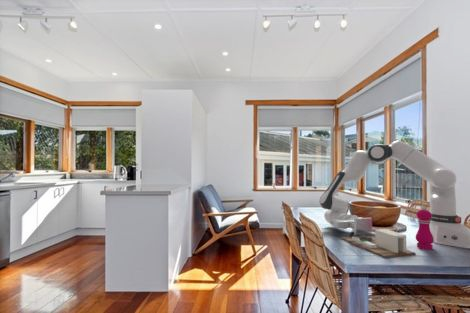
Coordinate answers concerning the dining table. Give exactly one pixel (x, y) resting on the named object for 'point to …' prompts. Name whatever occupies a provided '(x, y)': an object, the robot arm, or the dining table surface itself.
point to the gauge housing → (391, 240)
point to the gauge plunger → (363, 227)
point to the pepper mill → (424, 230)
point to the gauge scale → (364, 242)
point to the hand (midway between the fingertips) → (358, 226)
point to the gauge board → (378, 248)
